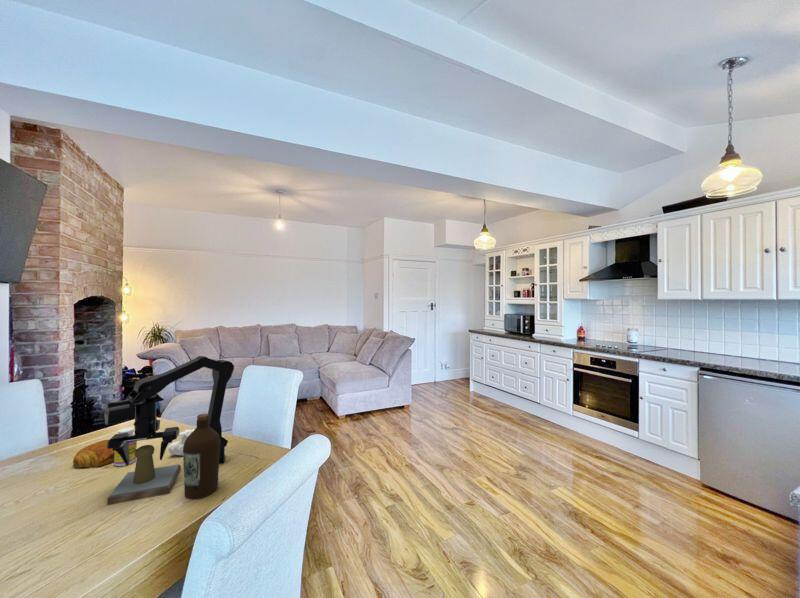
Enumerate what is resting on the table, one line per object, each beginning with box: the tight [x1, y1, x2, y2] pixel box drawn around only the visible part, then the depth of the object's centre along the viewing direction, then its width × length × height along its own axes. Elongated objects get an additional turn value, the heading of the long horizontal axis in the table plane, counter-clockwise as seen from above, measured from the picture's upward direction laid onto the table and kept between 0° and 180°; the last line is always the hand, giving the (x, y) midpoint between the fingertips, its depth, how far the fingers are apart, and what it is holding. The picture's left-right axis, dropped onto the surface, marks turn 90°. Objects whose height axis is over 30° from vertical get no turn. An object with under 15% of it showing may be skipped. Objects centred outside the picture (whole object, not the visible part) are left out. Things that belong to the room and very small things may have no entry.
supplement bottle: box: [113, 427, 138, 467], centre depth 126 cm, size 7×7×13 cm
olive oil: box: [182, 413, 220, 500], centre depth 108 cm, size 11×11×25 cm
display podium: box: [106, 464, 182, 506], centre depth 110 cm, size 16×16×2 cm
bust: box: [167, 428, 196, 457], centre depth 134 cm, size 12×8×11 cm
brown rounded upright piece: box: [133, 444, 155, 484], centre depth 110 cm, size 6×6×11 cm
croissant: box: [72, 439, 114, 468], centre depth 128 cm, size 14×16×8 cm
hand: (144, 462), depth 110 cm, fingers open, 9 cm apart
